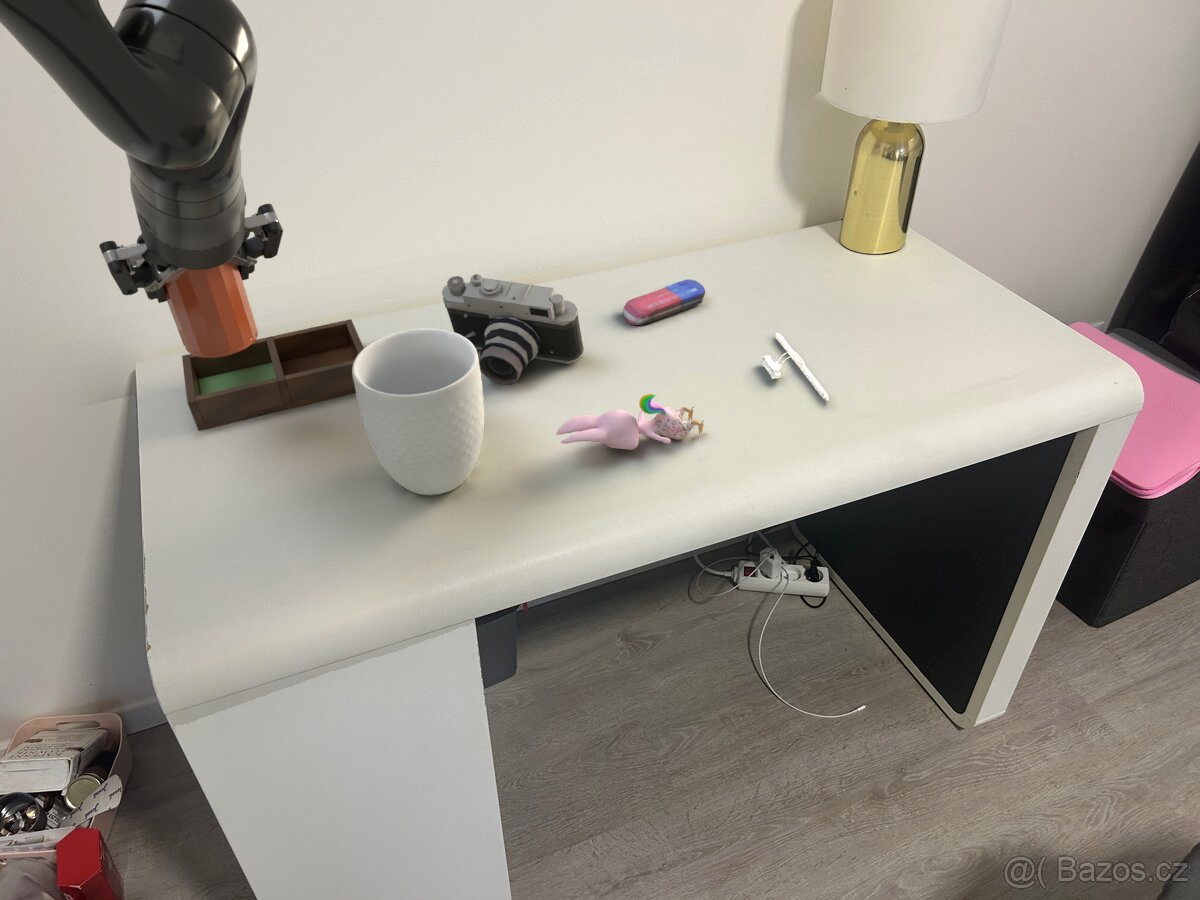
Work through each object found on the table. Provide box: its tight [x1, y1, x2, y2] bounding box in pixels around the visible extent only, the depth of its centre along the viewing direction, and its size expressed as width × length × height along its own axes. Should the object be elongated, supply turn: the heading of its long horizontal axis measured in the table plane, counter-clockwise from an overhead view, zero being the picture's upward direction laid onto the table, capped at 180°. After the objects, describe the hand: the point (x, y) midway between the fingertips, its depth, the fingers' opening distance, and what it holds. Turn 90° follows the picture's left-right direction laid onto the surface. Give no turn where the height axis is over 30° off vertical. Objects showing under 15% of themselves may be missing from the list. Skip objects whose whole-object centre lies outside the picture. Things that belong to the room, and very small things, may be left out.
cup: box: [163, 263, 259, 358], centre depth 78 cm, size 7×7×9 cm
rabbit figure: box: [555, 393, 706, 450], centre depth 83 cm, size 6×6×15 cm
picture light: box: [760, 332, 830, 402], centre depth 95 cm, size 14×4×2 cm, turn 14°
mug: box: [352, 327, 485, 496], centre depth 79 cm, size 15×11×13 cm
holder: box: [181, 318, 365, 431], centre depth 93 cm, size 18×10×4 cm, turn 114°
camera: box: [441, 273, 585, 385], centre depth 93 cm, size 16×9×10 cm, turn 73°
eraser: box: [622, 279, 706, 326], centre depth 105 cm, size 11×4×2 cm, turn 123°
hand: (200, 281), depth 78 cm, fingers closed on cup, 6 cm apart
